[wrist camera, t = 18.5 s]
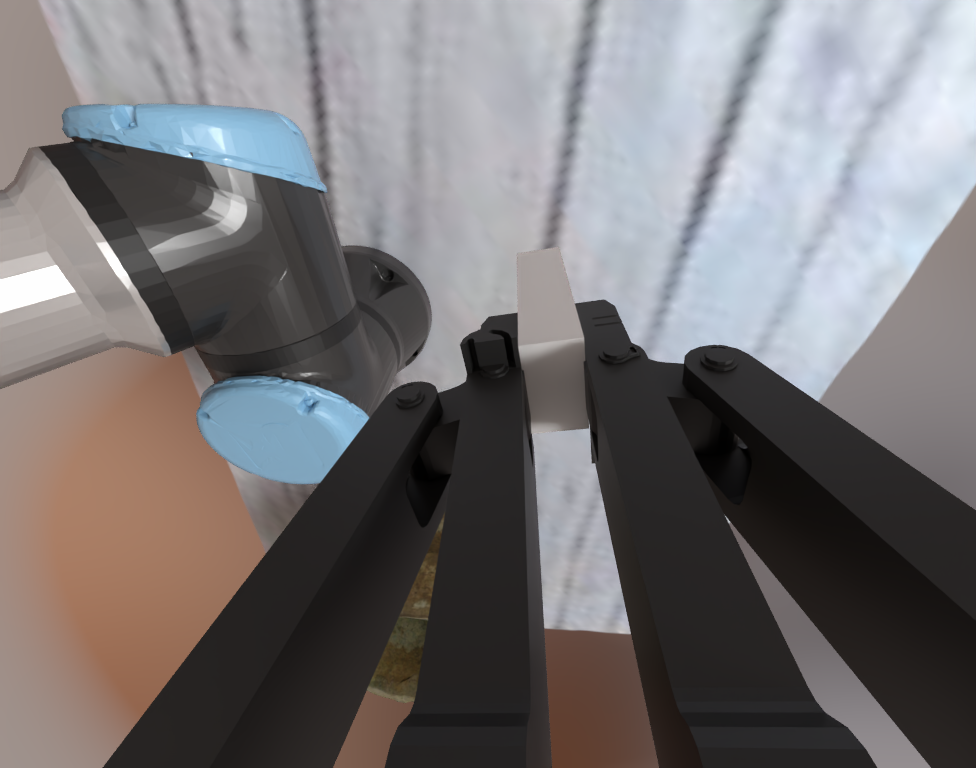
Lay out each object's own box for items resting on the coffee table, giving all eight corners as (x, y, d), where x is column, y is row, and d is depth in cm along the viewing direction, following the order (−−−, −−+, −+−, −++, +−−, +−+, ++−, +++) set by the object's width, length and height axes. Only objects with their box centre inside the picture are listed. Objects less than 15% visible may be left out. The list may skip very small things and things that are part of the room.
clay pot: (383, 540, 75) (334, 708, 55) (354, 435, 61) (273, 610, 40) (525, 544, 74) (529, 719, 54) (530, 438, 59) (539, 622, 39)
